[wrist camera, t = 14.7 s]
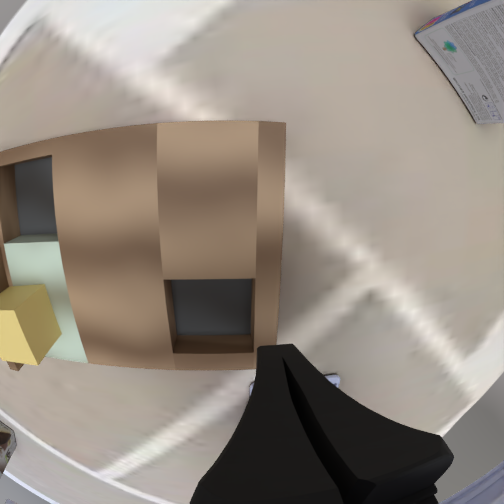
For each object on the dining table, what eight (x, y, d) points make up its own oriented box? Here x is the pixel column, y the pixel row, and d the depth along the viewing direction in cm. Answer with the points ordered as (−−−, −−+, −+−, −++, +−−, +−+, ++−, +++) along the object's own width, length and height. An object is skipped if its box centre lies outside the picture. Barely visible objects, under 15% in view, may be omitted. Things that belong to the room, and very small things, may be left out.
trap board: (269, 347, 22) (280, 391, 17) (36, 337, 20) (10, 369, 15) (277, 127, 17) (296, 115, 12) (3, 155, 15) (-38, 159, 10)
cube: (62, 333, 17) (38, 365, 13) (26, 332, 17) (1, 360, 13) (44, 283, 16) (14, 310, 12) (9, 286, 16) (-21, 309, 12)
